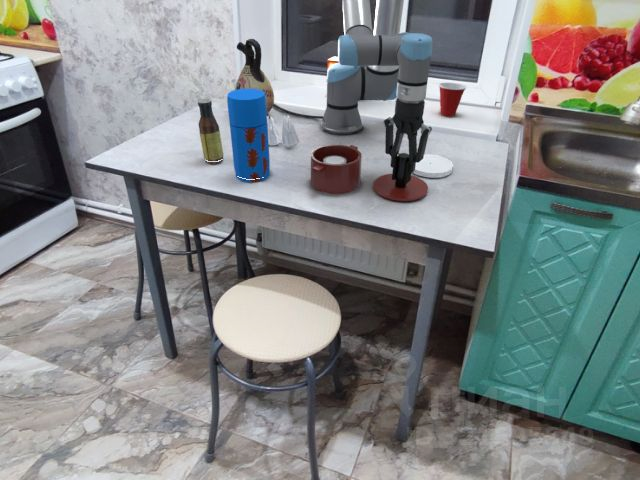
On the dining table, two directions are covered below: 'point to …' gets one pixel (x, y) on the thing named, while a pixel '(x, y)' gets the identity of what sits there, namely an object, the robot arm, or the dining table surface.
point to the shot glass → (334, 160)
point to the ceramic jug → (254, 72)
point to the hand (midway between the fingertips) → (401, 179)
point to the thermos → (249, 134)
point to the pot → (336, 169)
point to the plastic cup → (450, 98)
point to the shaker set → (288, 133)
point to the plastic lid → (433, 166)
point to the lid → (400, 184)
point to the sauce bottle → (209, 133)
